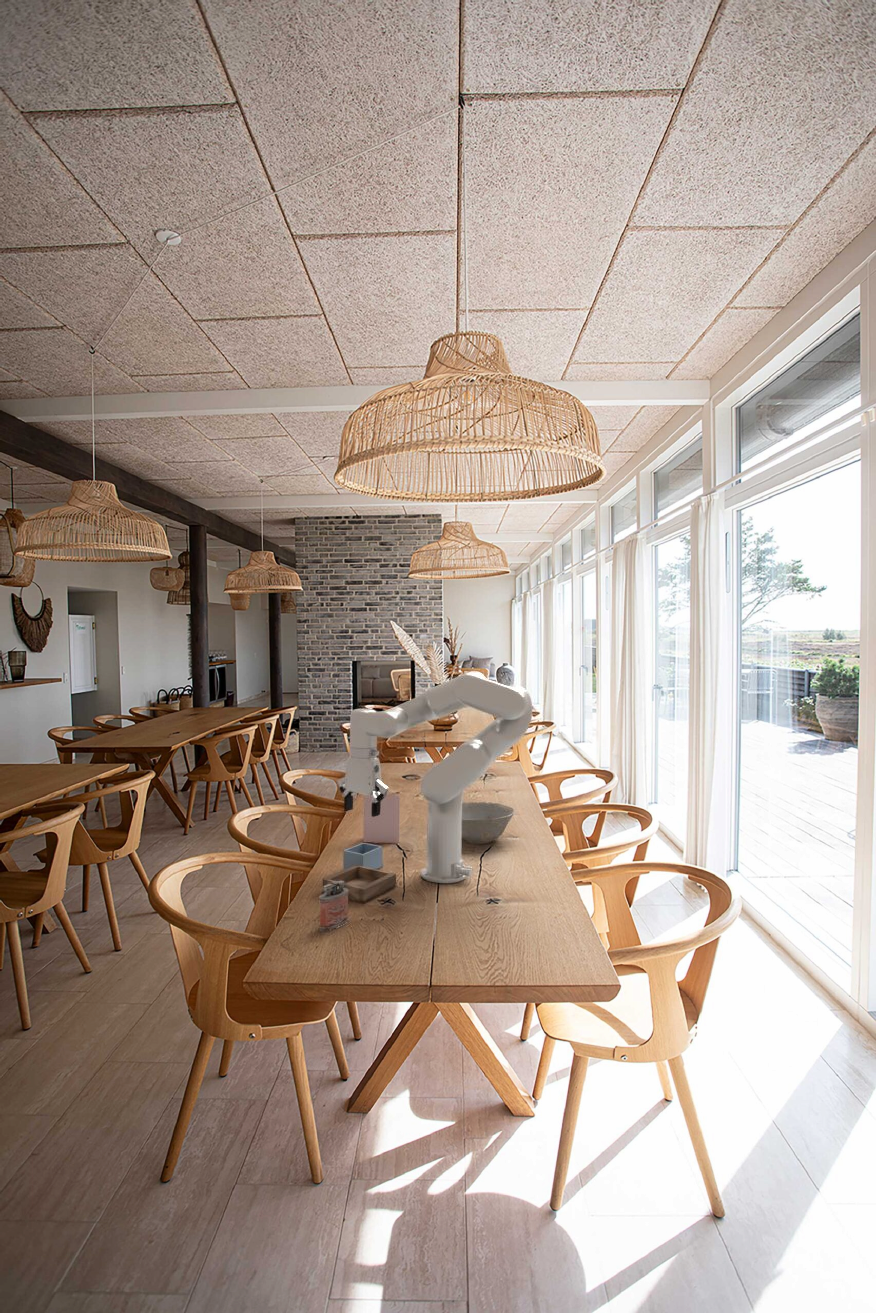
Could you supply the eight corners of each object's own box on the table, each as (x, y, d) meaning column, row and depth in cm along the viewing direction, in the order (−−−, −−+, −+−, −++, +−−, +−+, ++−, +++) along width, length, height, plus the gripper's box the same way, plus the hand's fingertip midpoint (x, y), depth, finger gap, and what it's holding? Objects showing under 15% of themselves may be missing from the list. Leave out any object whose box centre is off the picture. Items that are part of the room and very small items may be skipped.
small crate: (382, 867, 205) (382, 846, 205) (363, 876, 197) (363, 854, 197) (363, 862, 209) (363, 842, 208) (343, 871, 201) (343, 850, 201)
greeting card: (400, 841, 229) (401, 795, 229) (386, 847, 223) (386, 800, 223) (373, 836, 236) (373, 790, 235) (358, 841, 230) (358, 795, 229)
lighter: (341, 918, 169) (341, 876, 168) (351, 921, 167) (352, 879, 166) (315, 928, 162) (315, 885, 162) (325, 932, 160) (325, 888, 160)
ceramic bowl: (435, 846, 225) (435, 815, 224) (457, 827, 246) (457, 799, 246) (504, 854, 218) (504, 822, 217) (520, 834, 239) (520, 804, 239)
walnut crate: (396, 886, 189) (396, 873, 189) (364, 903, 178) (364, 889, 178) (355, 877, 196) (355, 864, 196) (322, 892, 185) (322, 879, 185)
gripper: (395, 754, 200) (394, 815, 201) (347, 747, 209) (346, 805, 210) (379, 758, 194) (378, 820, 195) (330, 751, 203) (329, 811, 204)
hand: (361, 812), depth 202 cm, fingers open, 9 cm apart
